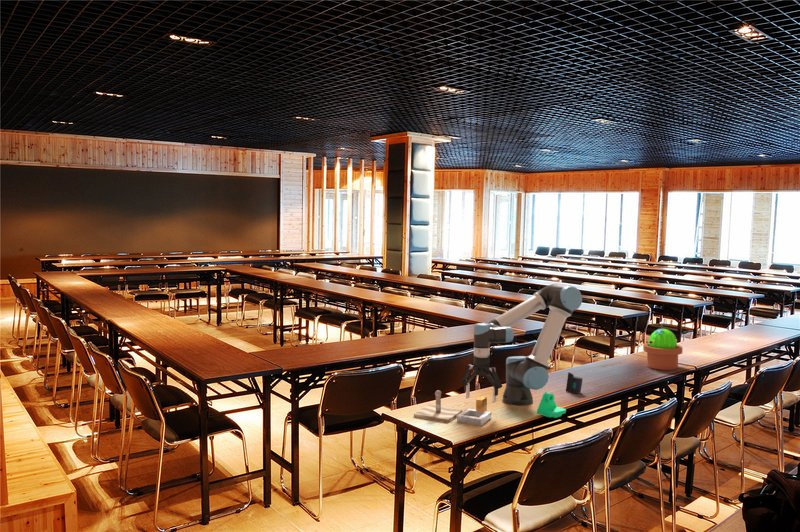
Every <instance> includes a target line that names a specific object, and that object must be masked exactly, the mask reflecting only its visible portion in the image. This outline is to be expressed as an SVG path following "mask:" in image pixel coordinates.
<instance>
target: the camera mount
mask: <svg viewBox="0 0 800 532" xmlns="http://www.w3.org/2000/svg"><path fill="white" fill-rule="evenodd" d="M538 404H539V405H538V407H537V409H536V414H537V415H541V416H544V417H545V418H553V419H557V418H560V417H562V415H563V414H566V412H567V409H566V408H564V407H563V408H562V407H560V406H558V405H557V404H556V402H555V395H554V394H553V393H550V392H548V391H547V392H546V391H545V392H544V393H543V394H542V397H541V400H540V402H539V403H538Z"/></svg>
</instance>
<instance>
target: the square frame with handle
mask: <svg viewBox="0 0 800 532" xmlns="http://www.w3.org/2000/svg"><path fill="white" fill-rule="evenodd" d="M487 400H488V397H487V396H483V395H481V396H479V397H478V398H476V399H475V409H473V408H466V409H464V410H463V412H461V413H460V414H458V415H457V417H456V423H459V424H460V423H463V424H465V425H466V424H467V425H473V426H479V427H482V426H483V425H485V424H486V423H487V422H488V421H490V420H491V419H492V411H488V408H487V407H488V406H487V405H488V403H487V402H488V401H487ZM490 418H491V419H490ZM489 419H490V420H489ZM484 423H485V424H484Z"/></svg>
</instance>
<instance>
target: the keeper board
mask: <svg viewBox="0 0 800 532" xmlns="http://www.w3.org/2000/svg"><path fill="white" fill-rule="evenodd" d="M434 395H435V405H434V404H429V405H427V406H425V407H422V408H421V409H420V410H418V411H416V412H415V413H413V418H418V419H423V420H429V419H430V421H435V420H436V422H440V421H443V422H442V423H446V422H447V424H448V423H450V422H452V421H453V420H454V418H455V419H457V415H458V414H460V413H461V412H463V411H464V410H463V409H456V408H452V407H447V406H446V407H445V406H442V403H441V402H442V401H441V399H442V391H441V390H439V389H438V390H436V391H435V392H434ZM451 420H452V421H451Z"/></svg>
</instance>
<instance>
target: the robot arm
mask: <svg viewBox="0 0 800 532" xmlns="http://www.w3.org/2000/svg"><path fill="white" fill-rule="evenodd" d="M582 302H583V295H582V293H581V291H580V290H579V289H578V288H577V287H576V286H572V285H569V284H561V283H552V284H549V285H547V286H544V287H543V288H541V289H539V290H538V291H535V292H534V293H533V294H532V296H531V297H529V298H528V299H525V300H524V301H523V302H521V303H519V304H517V305H515V306H514V307H512V308H510V309H509V310H507V311H505V312H504V313H502V314H500V315H498V316H497V317H495V318H494V319H492V320H490V321H483V322H477V323H475V324H474V326H473V355H474V356H473V365H472V364H471V363H470V364H467V366H466V370H465V372H464V374H463V376H462V378H461V380H460V383H461V384H463V385H464V388H463V389H464V392H465V399H466V400H468V399H470V395H471V394H470V393H471V392H470V389H471V387H470V382H471V381H472V380H473V378H475V376H481V377H485V378H486V379H487V380H488V381H489V383H490V384H491V386H492V387H493V388H492V403H493V404H495V403H496V402H497V396H499V389H501V388H502V387H503V385H502V382H501V379H500V378H499V376H498V373H497V367H496V366H495V367H490V355H491V354H490V351H491V350H490V349H491V348H490V347H491V346H490V345H491V344H500V343H501V344H504V343H505V344H507V343H511V342H512V341H514V337H515V332H514V329H513V328H512V327H513V326H514V325H516V324H518V323H520V322H521V321H523V320H524V319H526V318H528V317H530V316H532V315H533V314H535V313H536V312H538V311H540V310H543V311H544V310H545V309H547V308H549V312H548V315H547V317H546V319H545V321H544V324H543V326H542V329H541V330H540V333H539V336H538V338H537V340H536V342H535V344H534V347H533V349H532V351H531V353H530V354H529V355H527V356H525V355H519V356H518V355H517V356H516V355H515V356H508V357H507V358H506V359H505V389H504V392H503V394H502V402H503V401H504V402H503V403H506V404H507V403H508V404H507V405H514V406H528V405H530V404H532V403H533V401H534V399H533V394H532V391H531V390H536V391H537V390H540V389H543V388H544V387H545V386H546V385H547V383H548V381H549V378H550V377H549V372H548V369H549V367H550V365H549V364H548V363H549V360H550V358H551V355H552V353H553V351H554V348H555V345H556V343H557V341H558V338H559V336H560V334H561V332H562V329H563V328H564V325H565V323H566V321H567V318H569V317H572V314H573V312H574V311H576V310H577V309H579V308H580V307H581V306H582ZM471 370H473V372H472V373H471ZM490 372H491V373H490ZM470 373H471V375H470V376H468V375H469V374H470ZM491 374H492V375H491Z"/></svg>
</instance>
